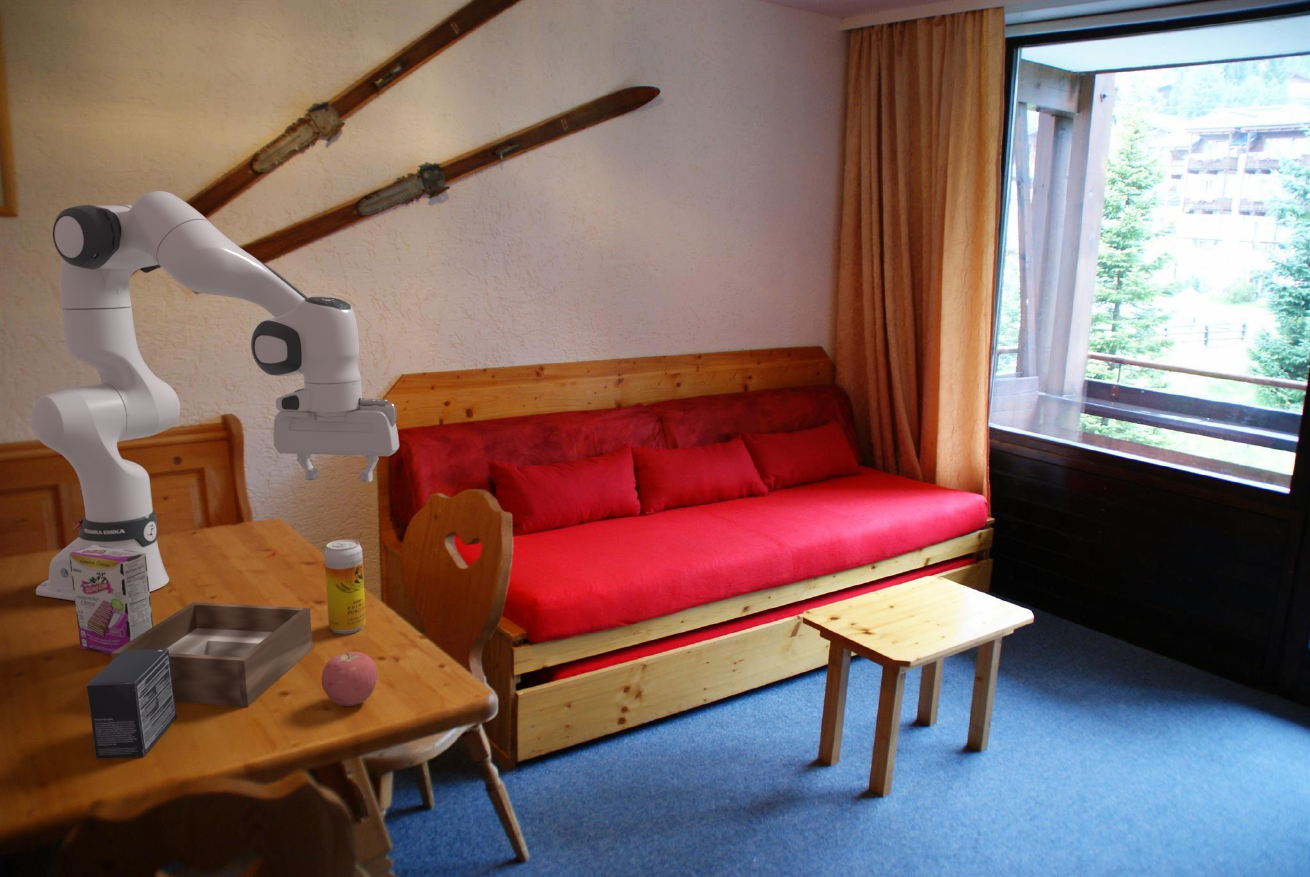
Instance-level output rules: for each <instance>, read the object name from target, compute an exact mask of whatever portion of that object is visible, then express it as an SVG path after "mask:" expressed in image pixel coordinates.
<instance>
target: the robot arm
mask: <svg viewBox="0 0 1310 877" xmlns="http://www.w3.org/2000/svg"><path fill="white" fill-rule="evenodd" d="M52 240H53V244H54V246H55V248H56V251H57V253H58V254H59V256H60V257H61V263H60V264H61V265H60V274H59V299H60V308H61V316H62V325H63V334H64V342H65V347H66V350H67V352H69V355H71V356H72V357H74V358H75V359H76V360H78V361H80V362H82V363H84V364H87V365H90V366H93V367H94V368H95V370H96V371H97V373H98V375H99V378H100V383H99V384H93V385H84V386H83V385H82V386H75V387H68V388H67V387H66V388H63V389H60V390H57V391H54V392H50V393H47V394H45V395H42V396H40V397H38V398H37V400H36V401H35V402H34V404H33V405H32V406H33V407H32V409H31V411H30V426H31V430H32V431H33V434H34V436H35V437H36V438H37V440H39V441H40V442H41V443H42V445H44V446H45V447H47V448H49V449H51V450H53V451H55V452H57V453H58V454H59V455H61V456H63V457H64V459H66V460H67V462H69V464H70V465H71V466H72V468H73V469H74V471H75V473H76V475H77V478H78V480H79V484H80V489H81V493H82V499H83V506H84V512H85V517H82V518H81V519H80V520H78V521H76V522H73V523H71V524H72V525H73V528H72V529H73V530H76V529H78V528H80V529H79V533H78V537H76V538H75V539H74V540H73V541H72V542H71V543H69V544H68V545H66V547H64V548H63V549H62V550H61V551H60V552H58V553H57V554H56V555H55V556H54V557H52V558H51V561H50V564H49V569H48V579H47V580H46V579H45V581H43V582H41V583H40V584H39V585H38V586H37V587H36V588H35V595H36V596H39V597H41V596H42V597H49V598H55V599H60V600H61V599H62V600H69V601H75V597H74V590H73V581H72V574H71V565H70V557H69V554H70V553H72V552H74V551H77V550H80V549H83V548H87V547H90V546H93V545H97V546H103V547H109V548H115V549H122V550H128V551H135V552H141V553H146V563H147V572H148V582H149V591H150V592H154V591H156V590H158V589H160V588H162V587H164V586H166V585H167V584H168V583H169V581H170V577H169V576H168V573H167V571H166V568H165V565H164V563H163V560H162V556H161V553H160V549H159V546H158V544H159V543H158V523H157V521H158V520H157V514H156V510H154V508H153V501H152V491H151V481H150V475H149V473H148V472H147V470H146V468H144V467H143V466H142V465H140V464H138V463H137V462H134V461H130V460H127V459H125V458H122V456H121V454H120V452H119V449H118V443H119V442H126V441H132V440H137V439H143V438H148V437H151V436H154V435H158V434H160V433H162V432H165V431H167V430H169V429H171V428H173V427H174V426H176V424H177V423H178V420H179V418H180V415H181V414H180V413H181V403H180V399H179V397H178V394H177V392H176V391H175V390H174V388H173V387H172V386H171V385H170V384H169V383H167V382H165V381H163V380H162V379H160V378H159V377H157V375H156V374H154V373H153V371H151V369H150V368H149V366H148V365H147V364H146V361H145V360H144V358H143V356H142V354H141V352H140V350H139V346H138V342H137V337H136V330H135V329H136V328H135V324H134V323H135V322H134V318H133V317H134V316H133V309H132V300H131V294H130V292H131V291H130V279H131V277H132V275H133V274H134V273H135V272H136V271H138V270H140V271H141V272H143V273H145V274H148V273H151V272H152V271H155V270H157V269H160V268H161V269H162V270H164V272H165V273H166V274H168V276H169V277H171V278H172V279H173V280H174V281H175V282H177V283H178V284H180V285H181V286H183V287H184V288H186V289H188V290H190V291H192V292H196V293H199V294H205V295H214V296H220V297H221V296H223V297H229V298H235V299H240V300H244V301H247V302H250V303H253V304H256V305H257V306H260V307H261V308H262V309H264V310H265V311H267V312H268V313H269V314H270V315H271V316H273V318H269V319H266V320H263V321H261V322H260V323H259V324H258V325H257V326H256V327H255V328H254V330H253V332H252V336H251V341H250V349H251V354H252V356H253V359H254V362H255V363H256V365H257V366H258V367H259V368H260V369H261V370H262V371H263V373H266V374H267V375H270V376H277V377H288V376H289V377H290V376H294V375H302V376H303V383H304V384H303V386H304V387H303V388H300V389H299V388H298V389H296V390H294V391H292V392H290V393H287V394H283V395H281V396H279V397H277V398H276V399H275V408H276V409H277V410H278V412H277V413H276V415H275V417H274V419H273V445H274V449H276V450H277V452H278V453H279V454H292V455H294V454H295V455H296V457H297V458H296V460H297V462H298V464H299V465H300V466H301V468H302V469H303V471H304V477H305V478H304V479H305V480H306V481H316V480H318V479H319V468H317V467H314V466H313V465H312V463H311V461H310V458H312V455H323V456H324V455H329V456H331V455H332V456H333V455H335V456H364V458H365V459H364V460H365V462H366V463H368V464H367V465H366V467H365V469H363V470H361V471H359V476H360V478H359V480H360V482H361V483H370V482H372V481H374V480H373V479H374V475H373V473H374V472H373V471H374V468H375V467H376V465H377V463H378V461H379V457H390V456H392V455H393V454H396V452H397V451H398V450H399V448H400V440H399V434H398V433H399V431H398V427H397V424H396V423H397V419H398V418H397V416H398V415H397V408H396V406H395V405H394V403H392V402H390V401H388V399H385V398H378V399H375V398H363V387H362V386H363V385H362V383H363V382H362V376H361V373H360V368H359V357H360V338H359V336H360V335H359V329H358V322H357V317H356V314H355V311H354V308H353V306H351V304H350V303H348V302H347V301H345V300H343V299H340V298H336V297H330V296H329V297H328V296H327V297H326V296H310V297H308V296H306V295H305V294H304V293H303V292H302V291H300V290H299V289H298V288H296V287H295V286H294V285H293V284H292V283H290V282H289V281H288V280H287V279H286V278H284V277H283V276H281V274H279V273H278V272H277V271H275V270H274V269H272V268H271V267H270V266H269V265H267V264H265V263H263V262H262V261H261V260H259V259H257V258H256V257H254V256H253V255H252V254H250V253H249V252H247V251H245V250H244V249H243V248H242V247H240V246H238V244H236V243H235V242H234V241H232V240H231V239H230V238H228V237H227V236H226V235H225V234H224V233H222V232H221V231H220V230H219V229H218V228H217V227H215V226H214V224H213V223H211V222H210V221H209V220H208V219H207V217H205V216H204V215H203V214H202V213H200V212H199V211H198V210H197V209H196V208H194V207H193V206H191V205H190V204H189V203H188V202H186V201H184V200H183V199H182V198H179V197H178V196H176V195H175V194H173V193H171V192H169V191H166V190H165V191H164V190H154V191H150V192H147V193H145V194H143V195H141V196H140V197H138V198H137V199H136V200H135V202H134V203H133V204H123V203H122V204H121V203H119V204H114V205H112V204H111V205H109V204H108V205H107V204H106V205H91V204H81V205H76V206H71V207H68V208H66V209H63V210H62V211H60V213H59V214H58V215H57V217H56V218H55V221H54V224H53V229H52ZM74 525H75V526H74Z"/></svg>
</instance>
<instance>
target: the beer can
mask: <svg viewBox="0 0 1310 877" xmlns="http://www.w3.org/2000/svg"><path fill="white" fill-rule="evenodd" d="M325 546H326V547H325V550H324V552H323V555H324V556H323V557H324V572H325V587H326V602H327V618H328V628H330V629H331V631H332V632H333V633H335V634H341V635H347V634H353V633H357V632H359V631H361V630H362V629H364V626H365V625H366V623H367V615H366V613H367V612H366V598H365V596H366V595H365V594H366V593H365V580H364V578H365V577H364V559H363V548H362V546H361V545H360V542H359V541H358V540H355V539H339V540H334V541H330V542H328V543H327V544H326V545H325Z"/></svg>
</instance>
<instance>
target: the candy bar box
mask: <svg viewBox="0 0 1310 877" xmlns="http://www.w3.org/2000/svg"><path fill="white" fill-rule="evenodd" d="M69 557H70V565H71V574H72V581H73V590H74V597H75V602H74V603H75V610H76V611H75V612H76V621H77V629H78V637H79V638H78V639H79V647H80V649H82V650H87V651H92V652H97V653H101V654H102V653H103V654H107V655H111V653H112V652H114V651H115V650H117V649H119V648H120V647H122V646H123V645H125V644H127V643H128V642H130V641H131V640H133V639H135V638H136V637H138V636H139V635H141V634H143V633H144V632H146V631H147V630H149V629H151V628H152V627H154V623H153V615H152V614H153V613H152V612H153V611H152V604H151V593H150V591H149V582H148V572H147V563H146V553H141V552H135V551H128V550H122V549H115V548H109V547H103V546H97V545H93V546H90V547H87V548H83V549H80V550H77V551H74V552H72V553H70V554H69Z"/></svg>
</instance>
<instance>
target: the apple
mask: <svg viewBox="0 0 1310 877" xmlns="http://www.w3.org/2000/svg"><path fill="white" fill-rule="evenodd" d="M377 671H378V669H377V665H376V663H375V661H374V659H372V657H371V656H369V655H367V654H366V653H364V652H363V653H362V652H360V651H349V652H347V651H345V652H344V653H339V654H338V655H335V656H334V657H332V658H331V659H329V661H328V662H327V663H326V664H325V666H324V668H323V670H322V673H321V686H322V689H323V691H324V692H325V694H326V695H327V697H328V698H329V699H330V700H331V701H333V702H334V703H335V704H337V705H340V706H343V707H352V706H356V705H360V704H362V703H364V702H365V701H367V699H368V698H369V697H370V696H371V694H372V693H373V692H374V689H375V687H376V685H377V681H378V672H377Z"/></svg>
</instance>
